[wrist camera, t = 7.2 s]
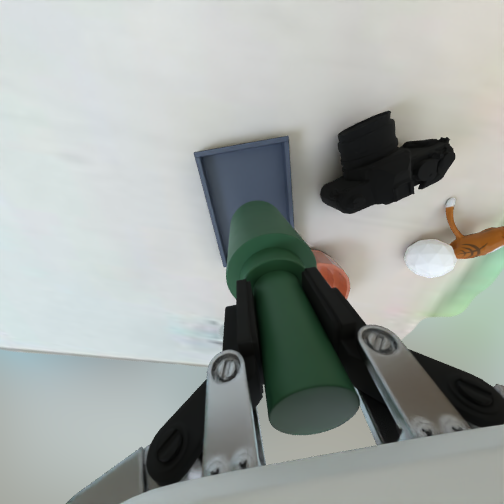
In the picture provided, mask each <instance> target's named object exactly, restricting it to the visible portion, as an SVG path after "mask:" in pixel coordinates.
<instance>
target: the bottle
mask: <svg viewBox="0 0 504 504" xmlns="http://www.w3.org/2000/svg"><path fill="white" fill-rule="evenodd" d="M310 267H316V268H317V263H316V259H315V256H314V254H313V252H312V250H311V249H310V247H309V246H308V245H307V244H306V243H305V242H304V240H303V239H302V238H301V237H300V236H299V234H298V233H297V232H296V231H295V230H294V228H293V227H292V226H291V225H290V224H289V222H288V221H287V220H286V219H285V218H284V216H283V215H282V214H281V213H280V212H279V210H278V209H277V208H276V207H275V206H273V205H272V204H270V203H268V202H265V201H257V200H256V201H250V202H247V203H245V204H243V205H242V206H240V207H239V208H238V209H237V210H236V212H235V213H234V215H233V217H232V219H231V223H230V234H229V246H228V257H227V269H226V280H227V285H228V288H229V290H230V292H231V293H232V295H233V296H234V297H235V298H236V281H237V280H243V279H246V280H247V281H250V282H251V287H252V292H253V297H254V304H255V312H256V320H257V327H258V335H259V343H260V351H261V358H262V369H263V377H264V385H265V393H266V401H267V408H268V417H269V421H270V423H271V425H272V426H273V427H274V428H275V429H277V430H278V431H281V432H283V433H287V434H292V435H311V434H316V433H321V432H325V431H328V430H331V429H334V428H336V427H338V426H340V425H342V424H343V423H345V422H346V421H348V420H349V419H350V418H352V417H353V416H354V415H355V413H356V412H357V410H358V409H359V406H360V399H359V396H358V394H357V392H356V390H355V388H354V386H353V384H352V382H351V380H350V378H349V376H348V375H347V373H346V371H345V369H344V367H343V365H342V363H341V361H340V359H339V357H338V355H337V353H336V351H335V349H334V348H333V346H332V344H331V342H330V340H329V338H328V336H327V334H326V332H325V330H324V328H323V326H322V324H321V323H320V321H319V319H318V317H317V315H316V313H315V311H314V309H313V307H312V305H311V303H310V301H309V299H308V298H307V296H306V294H305V292H304V290H303V288H302V272H303V271H305V268H310Z"/></svg>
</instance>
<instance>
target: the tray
mask: <svg viewBox="0 0 504 504" xmlns="http://www.w3.org/2000/svg"><path fill="white" fill-rule="evenodd" d="M194 156H195V160H196V163H197V167H198V171H199V175H200V179H201V182H202V186H203V190H204V194H205V198H206V201H207V205H208V209H209V213H210V217H211V220H212V224H213V228H214V232H215V236H216V239H217V243H218V247H219V251H220V255H221V258H222V262H223V266H224V267H227V257H228V246H229V234H230V223H231V219H232V217H233V215H234V213H235V212H236V210H237V209H238V208H239V207H240V206H242V205H243V204H245V203H247V202H250V201H256V200H257V201H265V202H268V203H270V204H272V205H273V206H275V207H276V208H277V209H278V210H279V212H280V213H281V214H282V215H283V216H284V218H285V219H286V220H287V221H288V222H289V224H290V225H291V226H292V227H293V228H294V217H293V201H292V185H291V169H290V153H289V137H288V136H284V137H278V138H273V139H267V140H261V141H256V142H250V143H244V144H239V145H233V146H227V147H222V148H216V149H211V150H205V151H199V152H194Z"/></svg>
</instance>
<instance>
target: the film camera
mask: <svg viewBox="0 0 504 504" xmlns="http://www.w3.org/2000/svg"><path fill="white" fill-rule="evenodd" d="M390 113H391V112H390V111H386V112H383V113H380V114H378V115H375V116H372V117H370V118H368V119H366V120H363V121H361V122H359V123H356V124H355V125H353V126H351V127H349V128H347V129H345V130H344V131H342V132H340V133H339V134H338V139H339V143H338V149H339V152H340V157H341V164H342V166H343V167H342V170H343V176H342V177H340V178H338V179H336V180H334V181H332V182H330V183H328V184H326V185H324V186H323V187H322V189H321V193H320V196H321V198H322V201H323V202H324V203H325V204H327V205H329V206H331V207H333V208H335V209H337V210H339V211H341V212H342V213H348V214H352V213H355V212H357V211H360V210H362V209H365V208H367V207H369V206H371V205H374V204H385V205H387V204H390V203H392V202H397V201H398V200H400V199H402V198H405V197H407V196H409V195H411V194H414V186H416V185H418V184H420V185H419V188H418V189H423V188H426V187H428V186H429V185H431V184H434V183H436V182H437V181H439V180H441V179H442V178H443V177H444V175H445V173H446V172H447V170H448V169H449V167H450V166H451V164H452V163H453V161H454V160H455V153H454V151H453V148H452V147H451V146H450V144H449V140H450V139H449V138H448V137H446V138H442V137H441V139H439V140H437V139H427V140H419V141H409V142H405V143H404V145H403V146H402V147H400V148H399V147H397V146H398V139H397V138H396V135H395V121H394V120H393V119H390Z"/></svg>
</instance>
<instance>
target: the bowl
mask: <svg viewBox="0 0 504 504" xmlns="http://www.w3.org/2000/svg"><path fill="white" fill-rule="evenodd" d="M312 252H313V254H314V256H315V259H316V263H317V269H318V271H319V272H320V273H321V275H322V276H323V277H324V279H325V280H326V281H327V283H328V284H329V285H330V287H331V288H335V287H336V288H337V289H338V290H339V291H340V292H341V293H342V295H343V296H344V297H345V298H346V299H347V298H348V294H349V291H350V282H349V278H348V276H347V275H346V273H345V272H344V270H343V269H342V268H341V267H340V266H339V265H338V264H337V263H336V262H335V261H334V260H333V259H332V258H331V257H330V256H329V255H327V254H325V253H324V252H322V251H317V250H312Z"/></svg>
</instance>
